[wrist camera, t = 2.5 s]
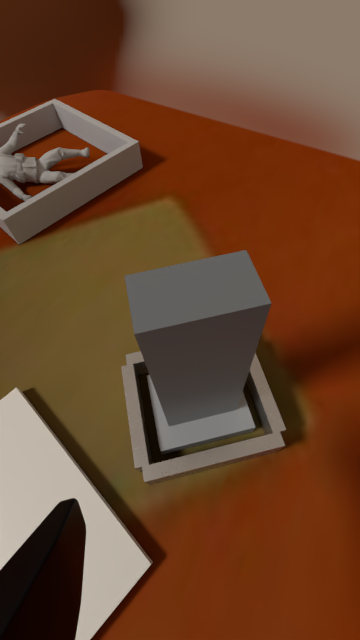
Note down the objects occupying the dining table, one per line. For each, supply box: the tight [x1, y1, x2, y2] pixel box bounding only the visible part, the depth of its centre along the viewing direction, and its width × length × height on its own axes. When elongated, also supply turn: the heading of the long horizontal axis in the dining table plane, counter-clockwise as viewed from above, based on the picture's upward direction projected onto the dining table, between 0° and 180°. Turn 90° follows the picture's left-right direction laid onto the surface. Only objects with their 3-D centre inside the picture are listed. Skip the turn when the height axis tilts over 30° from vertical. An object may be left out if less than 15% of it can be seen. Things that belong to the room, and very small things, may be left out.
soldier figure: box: [0, 124, 89, 201], centre depth 34 cm, size 8×5×12 cm
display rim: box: [0, 99, 143, 244], centre depth 36 cm, size 17×17×3 cm
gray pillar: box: [125, 250, 271, 455], centre depth 16 cm, size 5×6×13 cm
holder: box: [121, 351, 286, 485], centre depth 20 cm, size 8×9×2 cm
